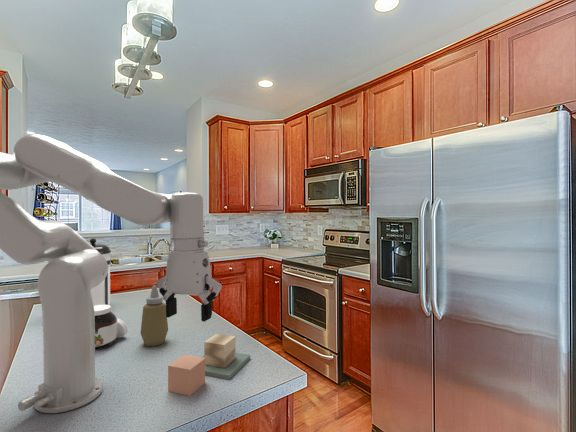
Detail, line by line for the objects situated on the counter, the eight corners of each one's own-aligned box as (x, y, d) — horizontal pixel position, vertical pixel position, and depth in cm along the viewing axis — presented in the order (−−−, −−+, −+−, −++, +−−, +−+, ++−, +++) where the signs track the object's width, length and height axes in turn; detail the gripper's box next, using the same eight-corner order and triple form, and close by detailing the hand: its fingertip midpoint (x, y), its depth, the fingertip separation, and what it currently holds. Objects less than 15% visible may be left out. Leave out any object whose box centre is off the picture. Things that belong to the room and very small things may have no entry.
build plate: (229, 379, 80) (229, 375, 80) (188, 371, 84) (188, 367, 84) (250, 358, 91) (250, 355, 91) (213, 352, 95) (213, 348, 95)
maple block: (235, 358, 89) (235, 336, 89) (224, 368, 84) (224, 345, 83) (216, 354, 91) (216, 333, 91) (204, 364, 85) (204, 341, 85)
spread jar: (74, 351, 95) (74, 312, 95) (91, 336, 106) (91, 301, 106) (118, 349, 97) (117, 310, 97) (130, 334, 108) (130, 300, 108)
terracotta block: (190, 396, 73) (190, 369, 73) (168, 391, 75) (168, 365, 75) (205, 382, 78) (205, 358, 78) (184, 378, 80) (184, 354, 80)
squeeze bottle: (140, 340, 104) (140, 284, 103) (167, 336, 107) (167, 282, 107) (140, 350, 96) (140, 289, 96) (168, 345, 99) (168, 287, 99)
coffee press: (92, 304, 142) (91, 236, 141) (122, 307, 137) (122, 237, 137) (54, 317, 125) (53, 239, 125) (86, 321, 121) (86, 241, 120)
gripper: (228, 244, 77) (229, 316, 77) (167, 242, 82) (168, 309, 83) (210, 248, 70) (212, 327, 70) (146, 246, 75) (147, 319, 76)
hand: (188, 317), depth 76 cm, fingers open, 9 cm apart
